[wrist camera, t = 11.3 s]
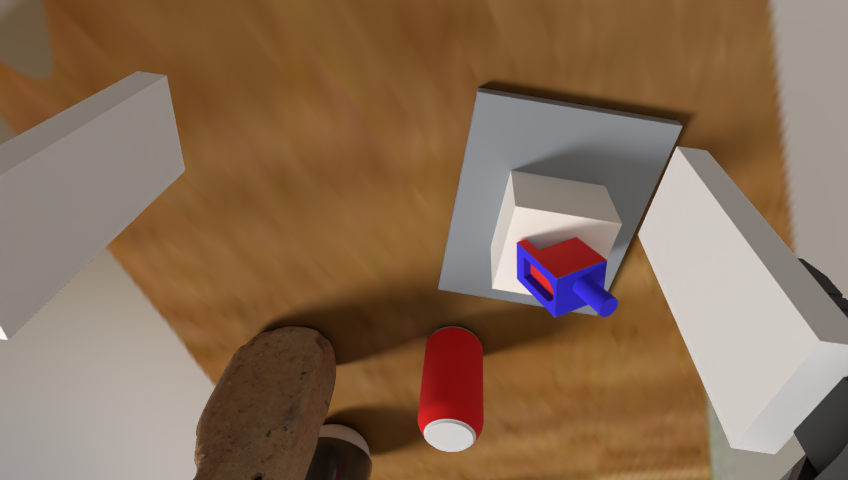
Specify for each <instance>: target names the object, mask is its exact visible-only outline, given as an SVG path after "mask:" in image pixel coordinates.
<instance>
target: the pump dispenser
mask: <svg viewBox="0 0 848 480" xmlns="http://www.w3.org/2000/svg"><path fill="white" fill-rule="evenodd" d="M371 473H372V462H371V459H370V452H369V448H368V446H367V443H366V442H365V440H364V439H363V437H362V436H361V435H360V434H359V433H358V432H356V431H355V430H353V429H351V428H349V427H347V426H343V425H338V424H328V425H323V426H321V429H320V433H319V438H318V442H317V445H316V449H315V452H314V455H313V458H312V460H311V463H310V466H309V469H308V472H307V475H306V477H305V480H370V477H371Z"/></svg>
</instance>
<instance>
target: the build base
mask: <svg viewBox="0 0 848 480" xmlns="http://www.w3.org/2000/svg"><path fill="white" fill-rule="evenodd" d="M682 127H683V126H682V125H681V124H680V123H679V122H678V121H677V120H671V119H665V118H659V117H653V116H647V115H641V114H635V113H629V112H623V111H617V110H611V109H605V108H599V107H593V106H587V105H581V104H575V103H569V102H563V101H557V100H551V99H545V98H539V97H533V96H527V95H521V94H515V93H509V92H503V91H497V90H491V89H485V88H479V87H478V89H477V94H476V99H475V104H474V109H473V114H472V119H471V124H470V129H469V134H468V139H467V144H466V149H465V154H464V159H463V164H462V169H461V174H460V179H459V184H458V189H457V194H456V199H455V204H454V209H453V214H452V219H451V224H450V229H449V234H448V239H447V244H446V249H445V254H444V259H443V264H442V269H441V274H440V279H439V285H438V290H444V291H450V292H456V293H462V294H468V295H474V296H480V297H487V298H493V299H499V300H505V301H511V302H517V303H523V304H529V305H535V306H541V307H544V306H543V305H542V304H541V303H540V302H539V301H538V300H537V299H536V298H535V297H534V296H533V295H532V294H531V293H530V292H529V291H528V290H527V289H526V288H525V287H524V286H523V285H522V284H521V283H520V282H519V281H518V280H517V242H519V241H522V240H525V239H526V240H528V241H529V242H530V243H531V244H532V245H533V246H534V247H536V248H537V249H538V250H541V249H544V248H546V247H549V246H552V245H555V244H558V243H561V242H564V241H567V240H570V239H572V238H575V237H577V238H579V239H580V240H581V241H583V242H584V243H585V244H587V245H588V246H589V247H591V248H592V249H593V250H595V251H596V252H597V253H598V254H600V255H601V256H602V257H604V258H605V259H606V260H607V267H606V276H605V285H604V289H605V290H606V291H607V292H608V290H609V287H610V285H611V283H612V281H613V279H614V276H615V274H616V272H617V270H618V268H619V265H620V263H621V261H622V259H623V257H624V254H625V252H626V250H627V248H628V246H629V243H630V241H631V239H632V237H633V235H634V232H635V230H636V228H637V226H638V224H639V221H640V219H641V217H642V215H643V213H644V210H645V208H646V206H647V204H648V202H649V199H650V197H651V195H652V193H653V191H654V188H655V186H656V184H657V182H658V180H659V177H660V175H661V173H662V171H663V169H664V166H665V164H666V162H667V160H668V158H669V155H670V153H671V151H672V149H673V147H674V144H675V142H676V140H677V138H678V136H679V133H680V131H681V129H682ZM571 312H578V313H584V314H590V315H596V316H597V314H598V313H597V312H596V311H595V310H594V309H593V308H592V307H591V306H590V305H586V306H584V307H581V308H579V309H576V310H574V311H571Z"/></svg>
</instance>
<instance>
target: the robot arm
mask: <svg viewBox="0 0 848 480" xmlns="http://www.w3.org/2000/svg"><path fill="white" fill-rule="evenodd" d="M184 171H185V167H184V162H183V157H182V152H181V147H180V141H179V136H178V131H177V126H176V121H175V116H174V111H173V106H172V101H171V96H170V90H169V85H168V80H167V75H160V74H153V73H146V72H138V71H137V72H135V73H133V74H131V75H130V76H128V77H126V78H124V79H122V80H120V81H119V82H117V83H115V84H113V85H111V86H109V87H107V88H106V89H104V90H102V91H100V92H98V93H96V94H94V95H93V96H91V97H89V98H87V99H85V100H83V101H82V102H80V103H78V104H76V105H74V106H72V107H70V108H69V109H67V110H65V111H63V112H61V113H59V114H57V115H56V116H54V117H52V118H50V119H48V120H46V121H45V122H43V123H41V124H39V125H37V126H35V127H33V128H32V129H30V130H28V131H26V132H24V133H22V134H20V135H19V136H17V137H15V138H13V139H11V140H10V141H7V142H6V143H4V144H2V145H0V339H4V340H9V339H10V338H11V337H12V336H13V335H14V334H15V333H16V332H17V331H18V330H19V329H20V328H21V327H22V326H24V325H25V324H26V323H27V322H28V321H29V320H30V319H31V318H32V317H33V316H34V315H35V314H36V313H37V312H38V311H39V310H40V309H41V308H42V307H43V306H44V305H45V304H46V303H47V302H49V300H51V299H52V298H53V296H55V295H56V294H57V293H58V292H59V291H60V290H61V289H62V288H63V287H64V286H65V285H66V284H67V283H68V282H69V281H70V280H71V279H72V278H74V277H75V275H77V274H78V273H79V272H80V271H81V270H82V269H83V268H84V267H85V266H86V265H87V264H88V263H89V262H90V261H91V260H92V259H93V258H94V257H95V256H97V255H98V254H99V252H101V251H102V250H103V249H104V248H105V247H106V246H107V245H108V244H109V243H110V242H111V241H112V240H113V239H114V238H115V237H116V236H117V235H118V234H119V233H120V232H122V231H123V230H124V229H125V228H126V227H127V226H128V225H129V224H130V223H131V222H132V221H133V220H134V219H135V218H136V217H137V216H138V215H139V214H140V213H141V212H142V211H143V210H144V209H146V208H147V207H148V206H149V205H150V204H151V203H152V202H153V201H154V200H155V199H156V198H157V197H158V196H159V195H160V194H161V193H162V192H163V191H164V190H165V189H166V188H167V187H168V186H170V185H171V184H172V183H173V182H174V181H175V180H176V179H177V178H178V177H179V176H180V175H181V174H182V173H183V172H184ZM638 236H639V238H640V241H641V243H642V245H643V247H644V250H645V252H646V254H647V257H648V259H649V261H650V263H651V266H652V268H653V270H654V273H655V275H656V277H657V279H658V282H659V284H660V286H661V288H662V291H663V293H664V295H665V298H666V300H667V302H668V304H669V307H670V309H671V311H672V313H673V316H674V318H675V320H676V323H677V325H678V327H679V329H680V332H681V334H682V336H683V338H684V341H685V343H686V345H687V348H688V350H689V352H690V354H691V357H692V359H693V361H694V364H695V366H696V368H697V370H698V373H699V375H700V377H701V379H702V382H703V384H704V386H705V389H706V391H707V393H708V395H709V398H710V400H711V402H712V404H713V407H714V409H715V411H716V414H717V416H718V418H719V420H720V423H721V425H722V427H723V429H724V432H725V434H726V436H727V439H728V441H729V443H730V445H731V448H736V449H742V450H749V451H756V452H763V453H769V454H776V453H777V452H778V451H779V449H780V448H781V447H782V446H783V445H784V444H785V443H786V442H787V441H788V440H789V439H790V437H792V435H793V434H795V435H796V437H797V439H798V441H799V443H800V444H801V446H802V448H803V450H804V451H805V453H806V454H805V455H804V456H803V457H802V458H801V459H800V460H799V461H798V462H797V463H796V464H795V465H794V466H793V467H792V468H791V469H790V470H789V471H788V472H787V473H786V474H785V475H784V476H783V477H782V478H781V479H780V480H848V300H847V299H846V298H842V294H841V292H840V291H839V290H838V289H837V288H836V287H835V285H833V283H832V282H831V281H830V280H829V279H828V277H827V276H825V275H824V274H823V273H821V272H820V271H819V270H817V269H816V268H814V267H813V266H811V265H810V264H809V263H807V262H806V261H805V260H803V259H799V258H797V257H796V256H795V255H794V254H793V252H792V251H791V250H790V249H789V248H788V246H787V245H786V244H785V243H784V242H783V240H782V239H781V238H780V237H779V236H778V234H777V233H776V232H775V231H774V230H773V229H772V227H771V226H770V225H769V224H768V223H767V221H766V220H765V219H764V218H763V217H762V215H761V214H760V213H759V212H758V211H757V209H756V208H755V207H754V206H753V205H752V203H751V202H750V201H749V200H748V199H747V198H746V196H745V195H744V194H743V193H742V192H741V190H740V189H739V188H738V187H737V186H736V184H735V183H734V182H733V181H732V180H731V178H730V177H729V176H728V175H727V174H726V172H725V171H724V170H723V169H722V168H721V166H720V165H719V164H718V163H717V162H716V161H715V159H714V158H713V157H712V156H711V155H710V153H709V152H708V151H707V150H700V149H693V148H686V147H679V146H677V147H676V149H675V151H674V153H673V156H672V158H671V160H670V163H669V165H668V167H667V169H666V172H665V174H664V176H663V179H662V181H661V183H660V185H659V188H658V190H657V192H656V195H655V197H654V199H653V201H652V204H651V206H650V208H649V211H648V213H647V215H646V217H645V220H644V222H643V224H642V227H641V229H640V231H639V233H638Z"/></svg>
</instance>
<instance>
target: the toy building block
mask: <svg viewBox="0 0 848 480" xmlns="http://www.w3.org/2000/svg"><path fill="white" fill-rule="evenodd" d="M606 267H607V260H606V259H605V258H604V257H602V256H601V255H600V254H598V253H597V252H596V251H595V250H593V249H592V248H591V247H589V246H588V245H587V244H585V243H584V242H583V241H581V240H580V239H579V238H577V237H575V238H572V239H570V240H567V241H564V242H561V243H558V244H555V245H552V246H549V247H546V248H544V249H541V250H538V249H537V248H536V247H534V246H533V245H532V244H531V243H530V242H529V241H528V240H526V239H525V240H522V241H519V242H517V280H518V281H519V282H520V283H521V284H522V285H523V286H524V287H525V288H526V289H527V290H528V291H529V292H530V293H531V294H532V295H533V296H534V297H535V298H536V299H537V300H538V301H539V302H540V303H541V304H542V305H543V306H544V307H545V308H546V309H547V310H548V311H549V312H550V313H551V314H552V315H553V316H554V317H555V318H556V317H558V316H561V315H563V314H566V313H569V312H571V311H574V310H576V309H579V308H581V307H584V306H586V305H590V306H591V307H592V308H593V309H594V310H595V311H596V312H597V313H598V314H599V315H601V316H602V317H606V316H609V315H611V314H612V313H613V312H614V311H615V310H616V308H617V306H618V300H617V299H616V298H615V297H613V296H612V295H611V294H610V293H609V292H607V291H606V290H605V289H604V285H605V276H606Z"/></svg>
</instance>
